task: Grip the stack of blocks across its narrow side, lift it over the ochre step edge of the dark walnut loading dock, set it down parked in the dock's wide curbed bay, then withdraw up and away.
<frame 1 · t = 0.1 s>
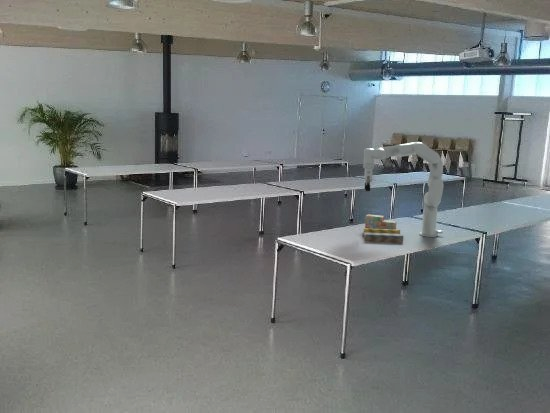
hand: (367, 189, 385), 31 cm above the table, tool pointing down, fingers open, 9 cm apart
stack of blocks: (380, 233, 390), on the table
dock: (382, 239, 370), on the table
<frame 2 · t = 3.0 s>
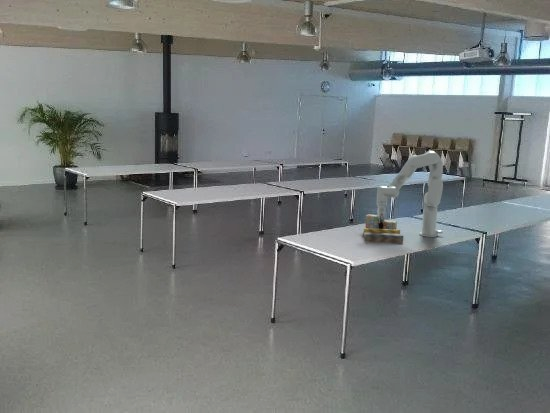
hand: (380, 227, 389), 4 cm above the table, tool pointing down, fingers closed on stack of blocks, 7 cm apart
stack of blocks: (380, 233, 390), on the table, touching gripper
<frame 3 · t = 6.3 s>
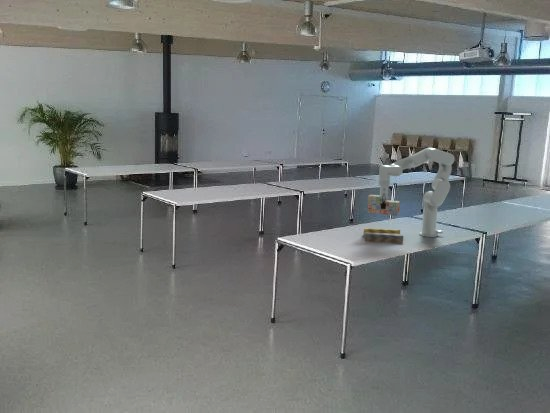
hand: (382, 207, 379), 20 cm above the table, tool pointing down, fingers closed on stack of blocks, 7 cm apart
stack of blocks: (383, 213, 379), point 15 cm above the table, touching gripper
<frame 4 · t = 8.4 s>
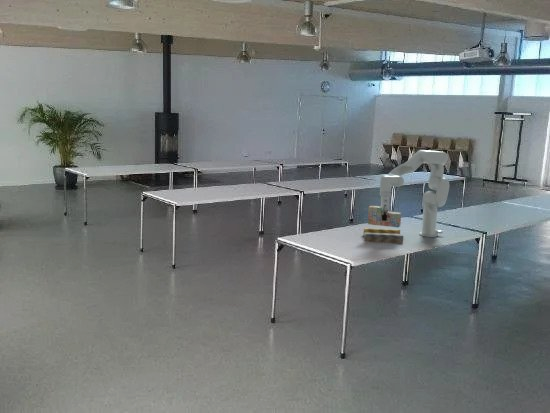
hand: (383, 219, 368), 14 cm above the table, tool pointing down, fingers closed on stack of blocks, 7 cm apart
stack of blocks: (383, 225, 368), point 10 cm above the table, touching gripper
when the fingers open (8 cm above the table, at t = 10.0 s): stack of blocks drops 1 cm, resting on dock.
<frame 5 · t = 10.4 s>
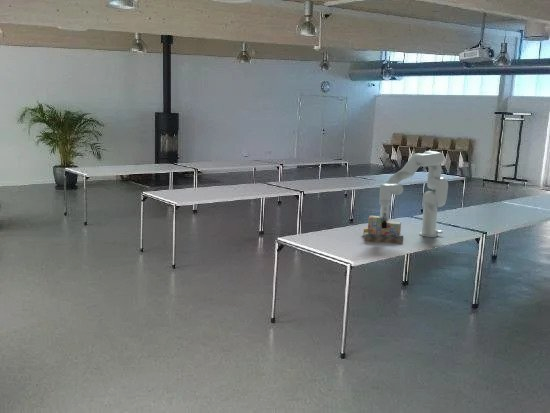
hand: (383, 226, 369), 9 cm above the table, tool pointing down, fingers open, 9 cm apart
stack of blocks: (383, 235, 370), point 3 cm above the table, touching dock
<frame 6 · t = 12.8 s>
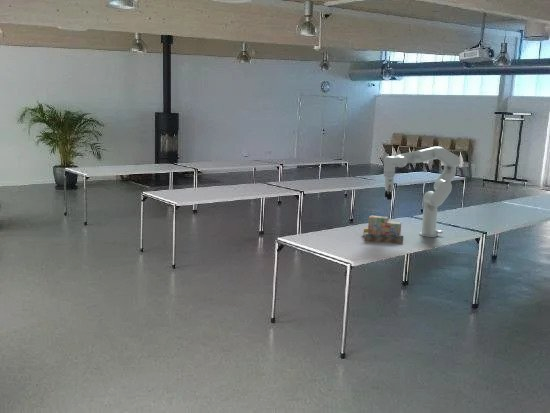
hand: (388, 198, 379), 26 cm above the table, tool pointing down, fingers open, 9 cm apart
nothing on the table moved.
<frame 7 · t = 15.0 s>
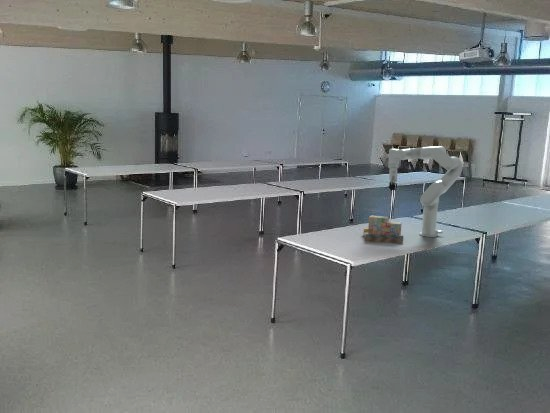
hand: (392, 189, 396), 30 cm above the table, tool pointing down, fingers open, 9 cm apart
nothing on the table moved.
at the end: stack of blocks 1.0 cm off-centre on the dock, point 2.8 cm above the dock's base; stack of blocks tilted 0°; the gripper is holding nothing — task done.
